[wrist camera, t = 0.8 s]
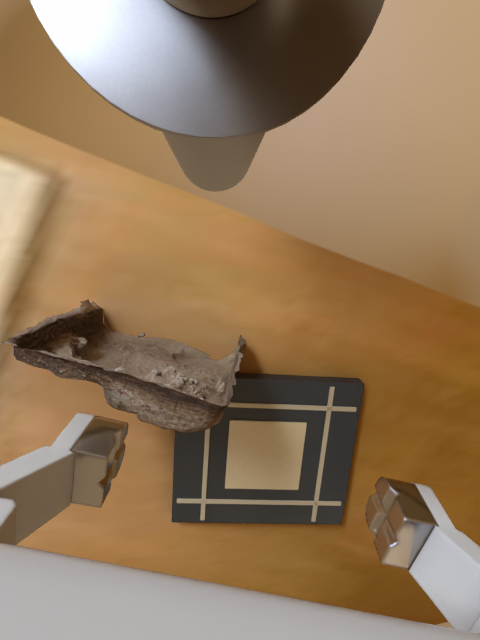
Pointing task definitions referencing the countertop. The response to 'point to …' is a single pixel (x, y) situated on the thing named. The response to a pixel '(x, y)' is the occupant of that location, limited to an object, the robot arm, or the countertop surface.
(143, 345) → the mineral sample
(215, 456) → the board
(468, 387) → the countertop surface
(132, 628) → the robot arm
